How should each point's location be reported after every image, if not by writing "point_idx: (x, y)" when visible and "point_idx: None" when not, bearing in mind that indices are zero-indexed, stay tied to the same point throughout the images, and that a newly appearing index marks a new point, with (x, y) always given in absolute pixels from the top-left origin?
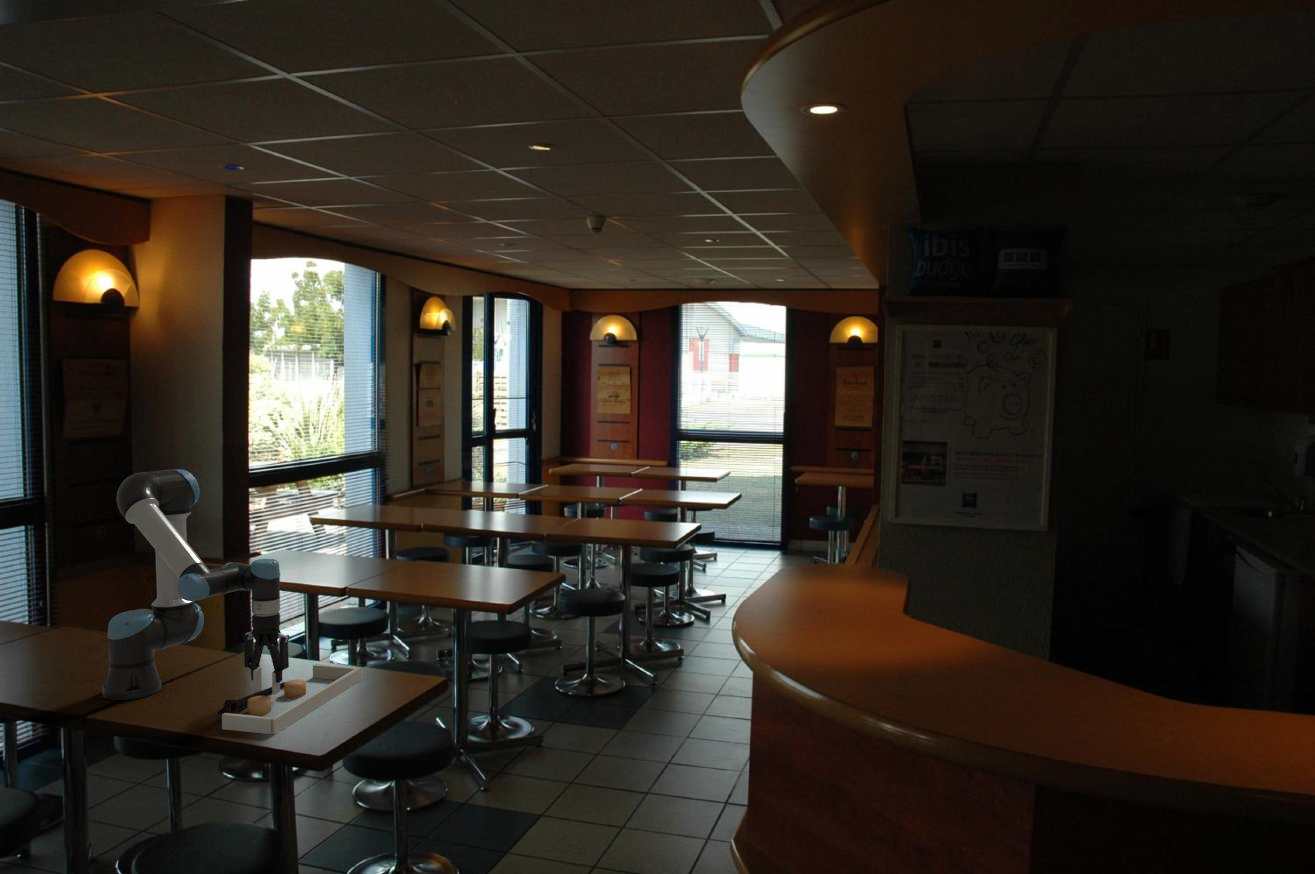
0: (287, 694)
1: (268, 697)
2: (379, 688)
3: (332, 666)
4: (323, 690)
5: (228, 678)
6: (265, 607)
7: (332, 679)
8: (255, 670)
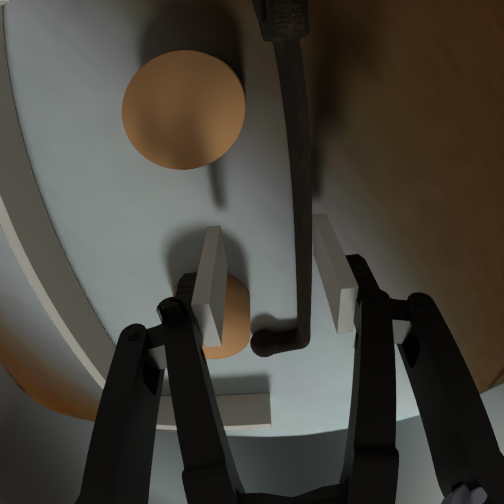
0: None
1: (157, 153)
2: (66, 372)
3: None
4: (36, 293)
5: (481, 316)
6: None
7: None
8: (346, 294)
